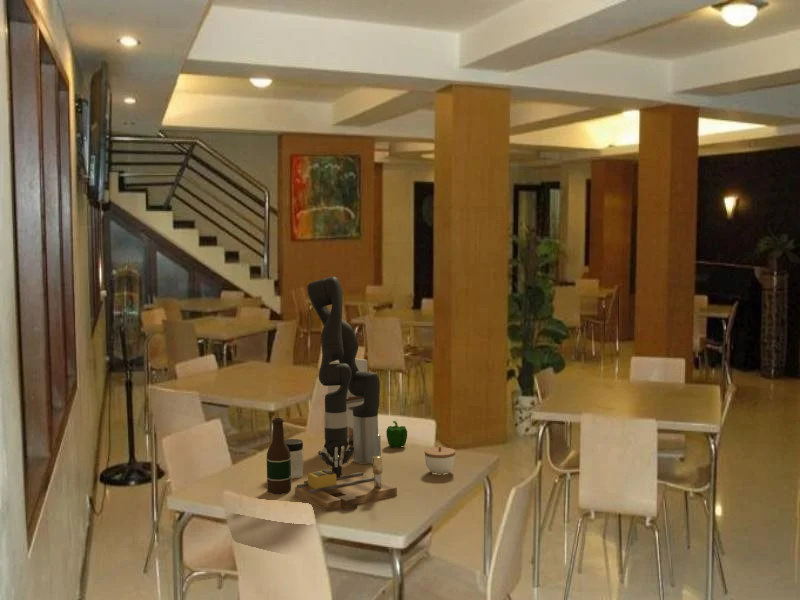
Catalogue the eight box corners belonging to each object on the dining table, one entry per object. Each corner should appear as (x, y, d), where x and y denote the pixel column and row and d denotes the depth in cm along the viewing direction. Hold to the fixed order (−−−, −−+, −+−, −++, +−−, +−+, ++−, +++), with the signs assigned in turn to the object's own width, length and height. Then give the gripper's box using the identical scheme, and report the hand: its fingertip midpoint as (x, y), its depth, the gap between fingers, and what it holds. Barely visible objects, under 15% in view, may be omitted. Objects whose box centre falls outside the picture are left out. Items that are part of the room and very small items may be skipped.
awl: (379, 485, 274) (378, 455, 273) (384, 487, 271) (383, 457, 271) (371, 487, 272) (370, 456, 271) (376, 489, 270) (376, 458, 269)
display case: (329, 448, 334) (327, 360, 331) (350, 443, 341) (348, 357, 338) (347, 453, 325) (346, 362, 323) (368, 448, 332) (367, 360, 330)
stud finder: (326, 481, 278) (326, 468, 278) (336, 486, 273) (336, 472, 273) (308, 485, 274) (307, 472, 274) (317, 490, 269) (317, 476, 269)
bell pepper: (407, 449, 331) (407, 423, 330) (386, 449, 331) (386, 424, 330) (407, 444, 339) (406, 419, 339) (386, 444, 339) (386, 419, 338)
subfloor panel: (358, 479, 291) (358, 469, 290) (402, 497, 269) (402, 487, 269) (290, 492, 276) (290, 482, 275) (331, 513, 254) (331, 502, 254)
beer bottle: (280, 496, 272) (279, 422, 270) (262, 492, 276) (260, 419, 275) (296, 489, 279) (294, 417, 277) (277, 486, 283) (276, 415, 281)
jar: (285, 480, 290) (284, 445, 289) (274, 474, 297) (274, 441, 296) (308, 476, 295) (307, 442, 294) (297, 470, 302) (297, 437, 301)
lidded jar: (429, 467, 304) (429, 442, 303) (458, 469, 301) (458, 443, 300) (421, 475, 294) (421, 449, 293) (451, 478, 291) (451, 451, 290)
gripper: (347, 420, 282) (347, 471, 283) (312, 425, 274) (313, 478, 276) (359, 424, 276) (360, 476, 277) (324, 429, 268) (325, 483, 269)
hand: (336, 477), depth 276 cm, fingers closed
